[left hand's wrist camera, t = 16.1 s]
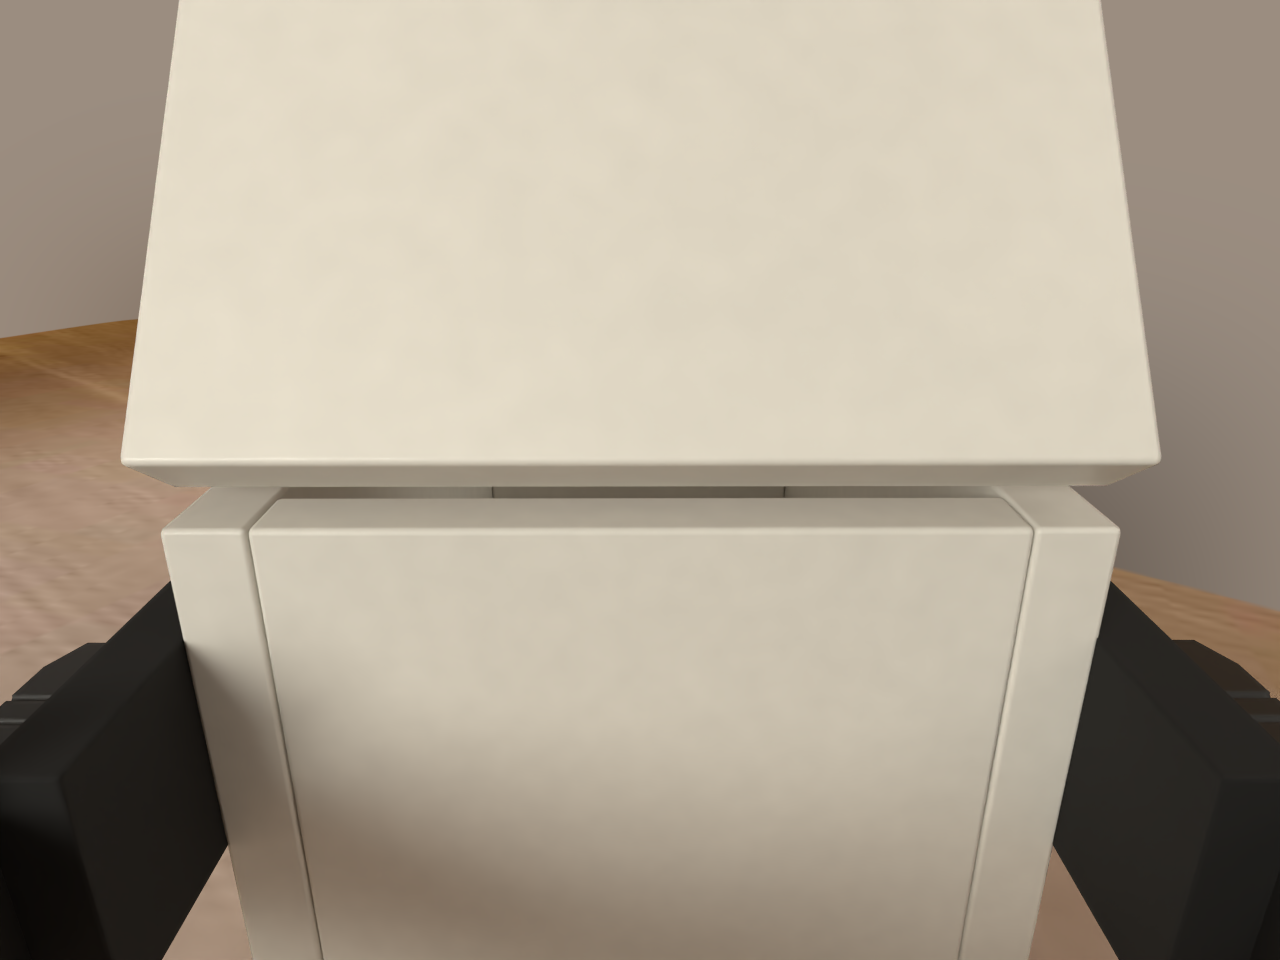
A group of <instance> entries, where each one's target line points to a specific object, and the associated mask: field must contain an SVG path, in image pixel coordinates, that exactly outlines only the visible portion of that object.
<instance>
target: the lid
mask: <svg viewBox="0 0 1280 960" xmlns="http://www.w3.org/2000/svg"><path fill="white" fill-rule="evenodd" d="M1160 460H1161V450H1160V443H1159V435H1158V428H1157V420H1156V413H1155V406H1154V398H1153V391H1152V383H1151V375H1150V368H1149V361H1148V353H1147V345H1146V338H1145V330H1144V323H1143V315H1142V308H1141V300H1140V293H1139V285H1138V278H1137V270H1136V263H1135V255H1134V248H1133V240H1132V233H1131V225H1130V218H1129V210H1128V202H1127V195H1126V188H1125V180H1124V172H1123V165H1122V157H1121V150H1120V142H1119V135H1118V127H1117V120H1116V112H1115V105H1114V97H1113V90H1112V83H1111V75H1110V67H1109V60H1108V52H1107V45H1106V37H1105V30H1104V22H1103V15H1102V7H1101V0H179V7H178V15H177V23H176V30H175V38H174V46H173V54H172V61H171V69H170V77H169V85H168V93H167V100H166V108H165V116H164V124H163V132H162V140H161V147H160V155H159V163H158V170H157V178H156V186H155V194H154V202H153V209H152V217H151V225H150V233H149V241H148V248H147V256H146V264H145V272H144V279H143V287H142V295H141V303H140V311H139V318H138V326H137V334H136V342H135V350H134V357H133V365H132V373H131V381H130V388H129V396H128V404H127V412H126V420H125V427H124V435H123V443H122V451H121V462H122V464H123V465H124V466H127V467H129V468H131V469H134V470H136V471H139V472H141V473H143V474H146V475H148V476H151V477H153V478H155V479H158V480H160V481H162V482H165V483H167V484H170V485H172V486H174V487H582V486H1107V485H1109V484H1111V483H1114V482H1116V481H1119V480H1121V479H1123V478H1126V477H1128V476H1131V475H1133V474H1135V473H1138V472H1140V471H1143V470H1145V469H1148V468H1150V467H1152V466H1155V465H1157V464H1159V463H1160Z"/></svg>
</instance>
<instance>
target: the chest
mask: <svg viewBox="0 0 1280 960" xmlns="http://www.w3.org/2000/svg"><path fill="white" fill-rule="evenodd" d="M1120 534H1121V533H1120V529H1119V527H1118V526H1117V525H1115V524H1114V523H1113V522H1112V521H1111V520H1109V519H1108V518H1107V517H1106V516H1105V515H1103V514H1102V513H1101V512H1100V511H1098V510H1097V509H1096V508H1095V507H1094V506H1092V505H1091V504H1090V503H1089V502H1088V501H1087V500H1085V499H1084V498H1083V497H1082V496H1081V495H1079V494H1078V493H1077V492H1076V491H1075V490H1073V489H1072V488H1071V487H1070V486H582V487H211V488H210V489H209V490H208V491H207V492H205V493H204V494H203V495H202V496H201V497H199V498H198V499H197V500H196V501H195V502H194V503H192V504H191V505H190V506H189V507H188V508H187V509H185V510H184V511H183V512H182V513H181V514H179V515H178V516H177V517H176V518H175V519H174V520H172V521H171V522H170V523H169V524H168V525H167V526H165V527H164V528H163V529H162V532H161V538H162V542H163V547H164V552H165V556H166V561H167V565H168V570H169V575H170V579H171V584H172V589H173V593H174V598H175V602H176V607H177V612H178V616H179V621H180V625H181V630H182V635H183V639H184V644H185V649H186V653H187V658H188V662H189V667H190V672H191V676H192V681H193V686H194V690H195V695H196V699H197V704H198V709H199V713H200V718H201V723H202V727H203V732H204V736H205V741H206V746H207V750H208V755H209V760H210V764H211V769H212V773H213V778H214V783H215V787H216V792H217V797H218V801H219V806H220V810H221V815H222V820H223V824H224V829H225V834H226V838H227V843H228V847H229V852H230V857H231V861H232V866H233V871H234V875H235V880H236V884H237V889H238V894H239V898H240V903H241V908H242V912H243V917H244V921H245V926H246V931H247V935H248V940H249V944H250V949H251V954H252V958H253V960H1028V958H1029V953H1030V949H1031V944H1032V939H1033V935H1034V930H1035V926H1036V921H1037V916H1038V912H1039V907H1040V903H1041V898H1042V893H1043V889H1044V884H1045V880H1046V875H1047V870H1048V866H1049V861H1050V857H1051V852H1052V847H1053V844H1052V843H1053V838H1054V834H1055V829H1056V825H1057V820H1058V815H1059V811H1060V806H1061V801H1062V797H1063V792H1064V788H1065V783H1066V778H1067V774H1068V769H1069V765H1070V760H1071V755H1072V751H1073V746H1074V741H1075V737H1076V732H1077V728H1078V723H1079V718H1080V714H1081V709H1082V705H1083V700H1084V695H1085V691H1086V686H1087V681H1088V677H1089V672H1090V668H1091V663H1092V658H1093V654H1094V649H1095V644H1096V640H1097V638H1098V636H1099V631H1100V626H1101V622H1102V617H1103V613H1104V608H1105V603H1106V599H1107V594H1108V590H1109V585H1110V580H1111V576H1112V571H1113V566H1114V562H1115V557H1116V553H1117V548H1118V543H1119V539H1120Z"/></svg>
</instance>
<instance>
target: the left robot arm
mask: <svg viewBox="0 0 1280 960" xmlns="http://www.w3.org/2000/svg"><path fill="white" fill-rule="evenodd" d="M1052 844H1053V846H1054V848H1055V849H1056V851H1057V853H1058V855H1059V856H1060V858H1061V860H1062V862H1063V863H1064V865H1065V867H1066V868H1067V870H1068V872H1069V874H1070V875H1071V877H1072V879H1073V881H1074V882H1075V884H1076V886H1077V888H1078V889H1079V891H1080V893H1081V895H1082V896H1083V898H1084V900H1085V902H1086V903H1087V905H1088V907H1089V908H1090V910H1091V912H1092V914H1093V915H1094V917H1095V919H1096V921H1097V922H1098V924H1099V926H1100V928H1101V929H1102V931H1103V933H1104V935H1105V936H1106V938H1107V940H1108V941H1109V943H1110V945H1111V947H1112V948H1113V950H1114V952H1115V954H1116V955H1117V957H1118V959H1119V960H1280V701H1279V700H1278V699H1277V698H1270V692H1269V691H1268V690H1267V689H1265V688H1264V687H1263V686H1262V685H1261V684H1260V683H1259V682H1258V681H1256V680H1255V679H1254V678H1253V677H1252V676H1251V675H1250V674H1249V673H1248V672H1246V671H1245V670H1244V669H1243V668H1242V667H1241V666H1240V665H1239V664H1237V663H1235V662H1233V661H1232V660H1230V659H1228V658H1226V657H1224V656H1222V655H1221V654H1219V653H1217V652H1215V651H1213V650H1211V649H1210V648H1208V647H1206V646H1204V645H1202V644H1200V643H1199V642H1197V641H1195V640H1171V639H1170V638H1169V637H1168V636H1167V635H1166V634H1165V633H1164V632H1163V631H1162V630H1161V629H1160V628H1159V627H1158V626H1157V625H1156V624H1155V623H1154V622H1153V621H1152V620H1151V619H1150V618H1149V617H1148V616H1147V615H1145V614H1144V613H1143V612H1142V611H1141V610H1140V609H1139V608H1138V607H1137V606H1136V605H1135V604H1134V603H1133V602H1132V601H1131V600H1130V599H1129V598H1128V597H1127V596H1126V595H1125V594H1124V593H1123V592H1122V591H1121V590H1120V589H1118V588H1117V587H1116V586H1115V585H1114V584H1113V583H1112V582H1111V581H1110V585H1109V590H1108V594H1107V599H1106V603H1105V608H1104V613H1103V617H1102V622H1101V626H1100V631H1099V636H1098V638H1097V640H1096V644H1095V649H1094V654H1093V658H1092V663H1091V668H1090V672H1089V677H1088V681H1087V686H1086V691H1085V695H1084V700H1083V705H1082V709H1081V714H1080V718H1079V723H1078V728H1077V732H1076V737H1075V741H1074V746H1073V751H1072V755H1071V760H1070V765H1069V769H1068V774H1067V778H1066V783H1065V788H1064V792H1063V797H1062V801H1061V806H1060V811H1059V815H1058V820H1057V825H1056V829H1055V834H1054V838H1053V843H1052ZM227 846H228V843H227V838H226V834H225V829H224V824H223V820H222V815H221V810H220V806H219V801H218V797H217V792H216V787H215V783H214V778H213V773H212V769H211V764H210V760H209V755H208V750H207V746H206V741H205V736H204V732H203V727H202V723H201V718H200V713H199V709H198V704H197V699H196V695H195V690H194V686H193V681H192V676H191V672H190V667H189V662H188V658H187V653H186V649H185V644H184V639H183V635H182V630H181V625H180V621H179V616H178V612H177V607H176V602H175V598H174V593H173V589H172V584H171V581H170V582H169V583H168V584H167V585H166V586H165V587H163V588H162V589H161V590H160V591H159V592H158V593H157V594H156V595H155V596H154V597H153V598H152V599H151V600H150V601H149V602H148V603H147V604H146V605H145V606H144V607H143V608H142V609H141V610H140V611H139V612H138V613H136V614H135V615H134V616H133V617H132V618H131V619H130V620H129V621H128V622H127V623H126V624H125V625H124V626H123V627H122V628H121V629H120V630H119V631H118V632H117V633H116V634H115V635H114V636H113V637H112V638H111V639H109V640H108V641H107V642H106V643H87V644H85V645H83V646H81V647H79V648H78V649H76V650H74V651H72V652H70V653H68V654H67V655H65V656H63V657H61V658H59V659H58V660H56V661H54V662H52V663H50V664H48V665H47V666H45V667H43V668H42V669H41V670H40V671H39V672H38V673H37V674H36V675H34V676H33V677H32V678H31V679H30V680H29V681H28V682H27V683H26V684H24V685H23V686H22V687H21V688H20V689H19V690H18V691H17V692H16V693H14V694H13V695H12V701H6V702H5V703H3V704H2V705H1V706H0V960H162V959H163V957H164V955H165V953H166V952H167V950H168V948H169V946H170V945H171V943H172V941H173V940H174V938H175V936H176V934H177V933H178V931H179V929H180V927H181V926H182V924H183V922H184V920H185V919H186V917H187V915H188V913H189V912H190V910H191V908H192V906H193V905H194V903H195V901H196V900H197V898H198V896H199V894H200V893H201V891H202V889H203V887H204V886H205V884H206V882H207V880H208V879H209V877H210V875H211V873H212V872H213V870H214V868H215V866H216V865H217V863H218V861H219V860H220V858H221V856H222V854H223V853H224V851H225V849H226V847H227Z"/></svg>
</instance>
